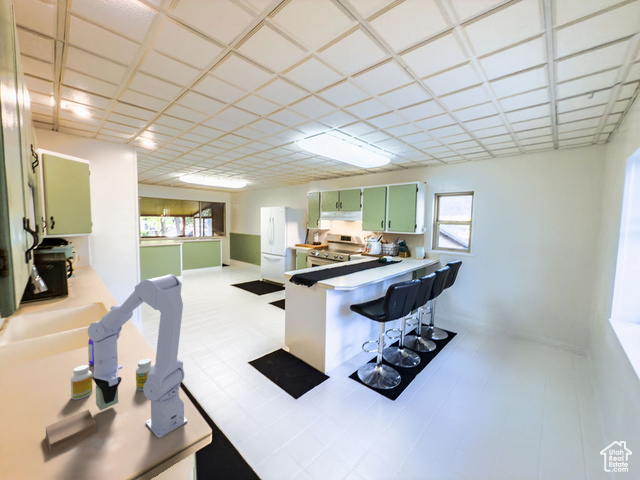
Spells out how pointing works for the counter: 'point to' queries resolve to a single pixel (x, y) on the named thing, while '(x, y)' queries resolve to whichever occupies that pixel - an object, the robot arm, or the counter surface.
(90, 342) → the bottle
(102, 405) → the sage block
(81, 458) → the counter surface
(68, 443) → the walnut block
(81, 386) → the supplement bottle
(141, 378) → the supplement bottle
